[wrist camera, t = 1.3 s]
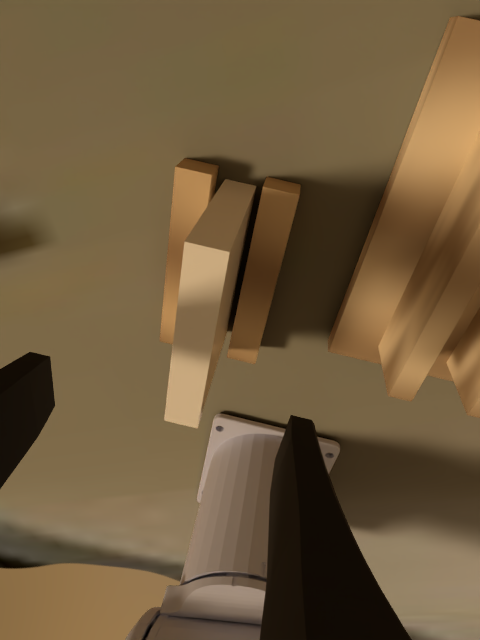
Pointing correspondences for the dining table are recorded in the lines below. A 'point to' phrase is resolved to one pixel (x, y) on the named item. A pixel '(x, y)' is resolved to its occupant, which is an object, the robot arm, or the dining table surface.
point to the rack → (426, 240)
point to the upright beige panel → (206, 299)
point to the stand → (263, 259)
